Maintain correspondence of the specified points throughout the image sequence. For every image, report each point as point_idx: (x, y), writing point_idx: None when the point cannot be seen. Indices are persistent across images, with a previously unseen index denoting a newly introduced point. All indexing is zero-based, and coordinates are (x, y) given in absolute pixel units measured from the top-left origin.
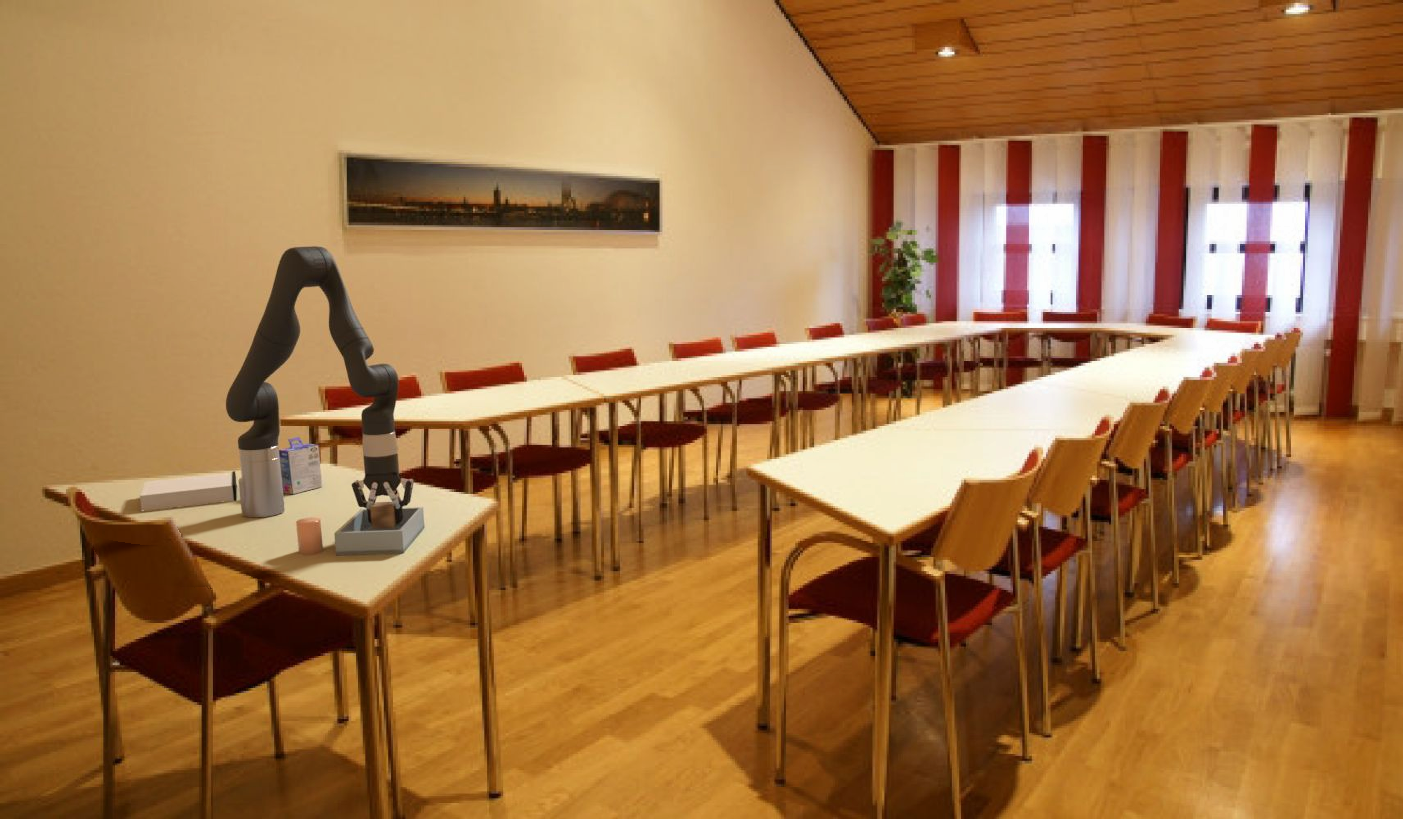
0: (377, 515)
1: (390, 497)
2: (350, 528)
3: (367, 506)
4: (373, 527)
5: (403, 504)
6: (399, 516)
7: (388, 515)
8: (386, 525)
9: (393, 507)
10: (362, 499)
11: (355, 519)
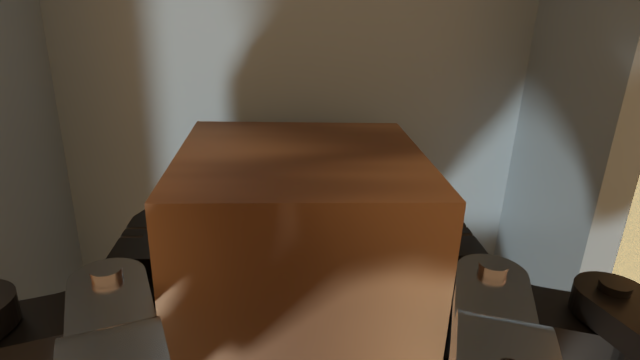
0: (358, 163)
1: (150, 340)
2: (597, 17)
3: (514, 277)
4: (386, 125)
5: (4, 289)
6: (143, 232)
7: (227, 161)
8: (265, 130)
9: (152, 238)
10: (633, 356)
11: (581, 202)
